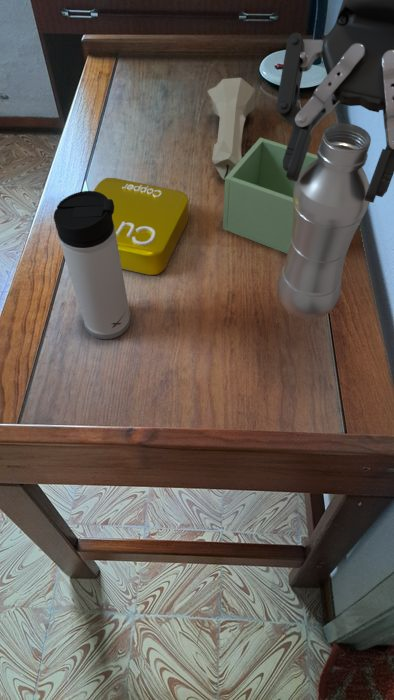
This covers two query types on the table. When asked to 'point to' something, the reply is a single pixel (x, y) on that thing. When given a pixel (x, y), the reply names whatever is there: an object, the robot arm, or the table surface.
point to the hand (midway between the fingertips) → (330, 188)
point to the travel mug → (94, 262)
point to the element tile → (145, 222)
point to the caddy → (261, 196)
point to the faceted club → (230, 121)
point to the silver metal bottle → (324, 222)
